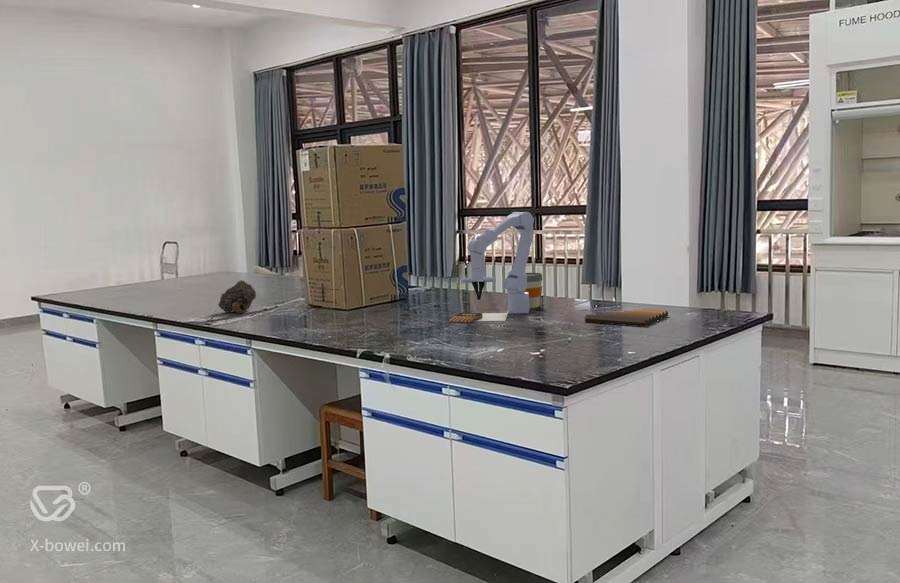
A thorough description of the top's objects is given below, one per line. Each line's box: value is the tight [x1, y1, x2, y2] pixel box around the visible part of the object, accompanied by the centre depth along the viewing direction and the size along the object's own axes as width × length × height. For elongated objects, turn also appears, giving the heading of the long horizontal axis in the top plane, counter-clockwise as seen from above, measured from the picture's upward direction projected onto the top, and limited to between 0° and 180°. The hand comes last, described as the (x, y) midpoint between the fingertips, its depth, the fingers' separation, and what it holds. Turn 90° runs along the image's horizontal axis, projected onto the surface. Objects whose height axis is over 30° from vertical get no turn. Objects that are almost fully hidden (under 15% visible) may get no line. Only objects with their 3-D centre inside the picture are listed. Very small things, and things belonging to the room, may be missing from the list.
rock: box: [218, 280, 257, 315], centre depth 360 cm, size 18×14×15 cm
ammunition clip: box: [448, 312, 483, 323], centre depth 310 cm, size 11×2×12 cm
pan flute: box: [584, 308, 669, 327], centre depth 298 cm, size 25×3×25 cm
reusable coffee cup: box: [517, 272, 543, 309], centre depth 339 cm, size 13×13×15 cm
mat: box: [474, 312, 509, 323], centre depth 315 cm, size 12×18×1 cm
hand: (478, 299), depth 315 cm, fingers closed
